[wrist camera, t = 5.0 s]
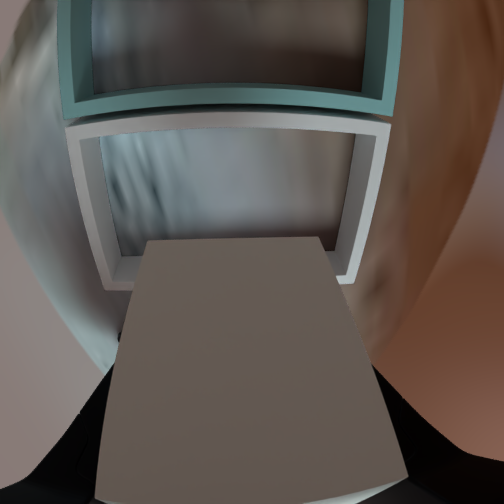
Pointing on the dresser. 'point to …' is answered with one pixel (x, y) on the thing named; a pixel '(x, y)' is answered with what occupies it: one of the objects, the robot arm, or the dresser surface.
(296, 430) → the cream block
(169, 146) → the dresser surface
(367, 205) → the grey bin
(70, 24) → the teal bin
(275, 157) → the dresser surface
